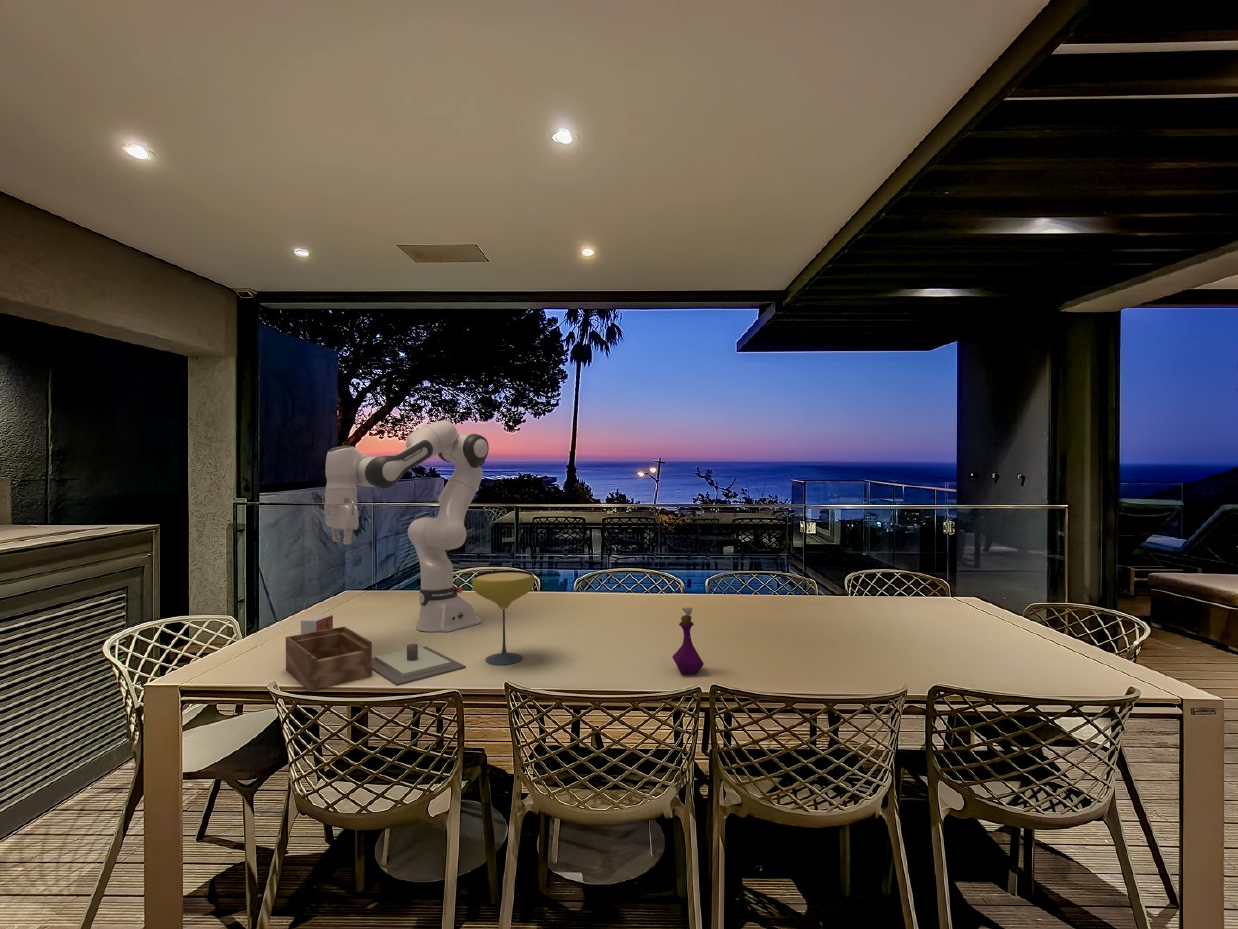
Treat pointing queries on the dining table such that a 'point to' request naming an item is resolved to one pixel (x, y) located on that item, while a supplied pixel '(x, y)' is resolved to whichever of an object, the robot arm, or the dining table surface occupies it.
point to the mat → (400, 680)
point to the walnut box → (328, 657)
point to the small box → (317, 623)
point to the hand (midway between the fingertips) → (341, 542)
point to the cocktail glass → (503, 600)
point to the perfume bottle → (687, 649)
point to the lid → (412, 661)
